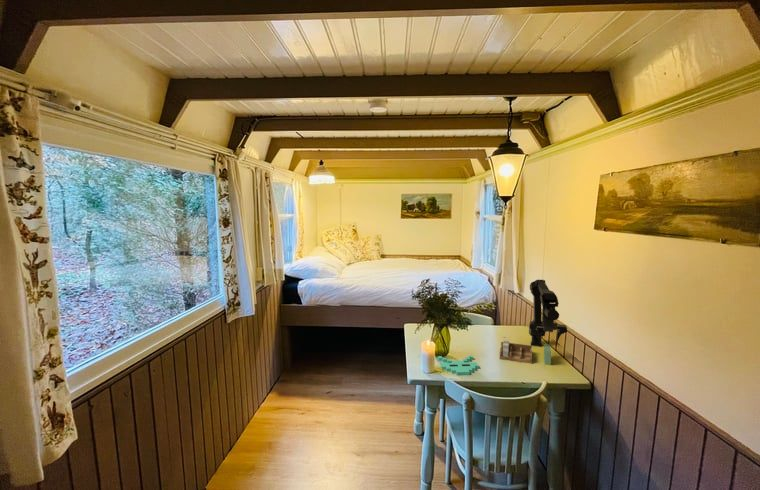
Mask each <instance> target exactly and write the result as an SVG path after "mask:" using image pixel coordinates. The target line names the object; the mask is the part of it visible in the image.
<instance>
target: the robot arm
mask: <svg viewBox="0 0 760 490" xmlns="http://www.w3.org/2000/svg"><path fill="white" fill-rule="evenodd" d="M529 290H530V294H531V295H532V297H533V299H532V300H533V319H532V321H529V329H528V334H529V336H531V341H530V345H531V346H532V347H533V346H536V347H543V342H542V340H543V338H542V337H545V336H546V332H549V333H554V331H556V338H555V342H556V344H558V342H559V340H560V337H561V336H562V335H564V334H567V333H568V327H567V324H560V323H558V322H554V321H557V320H558V319H559V318H560V313H559V312H558V311H557V309H556V308H558V307H559V299H558V296H557V294H556V293H555V292H554V291H552V290H550V288H549V287H548V285H547V283H546V280H544V279H535V281H532V282H530V284H529Z"/></svg>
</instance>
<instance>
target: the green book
mask: <svg viewBox="0 0 760 490" xmlns="http://www.w3.org/2000/svg"><path fill="white" fill-rule="evenodd" d="M551 359H552V350H551V344H549V343H548V344H547V343H544V344H543V361H544V365H546V366H552V364H551V363H552V360H551Z"/></svg>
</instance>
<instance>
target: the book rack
mask: <svg viewBox="0 0 760 490" xmlns="http://www.w3.org/2000/svg"><path fill="white" fill-rule="evenodd" d="M532 348H533V345H531V344H529V345H528V344H524V343H523V344H521V343H513V342H510V339H508V338H504V339H503V341H501V342H500V348H499V360H504V361H509V362H518V363H524V364H531V365H532V364H533V352H532V351H533V349H532Z"/></svg>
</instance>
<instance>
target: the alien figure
mask: <svg viewBox="0 0 760 490" xmlns="http://www.w3.org/2000/svg"><path fill="white" fill-rule="evenodd" d="M437 360H438V362H439V361H440V368H441V370H442V371H446V372H447V373H449V372H450V373H451V375H453V374H455V375H456V376H470V374H473V373H474V372H476V370H479V367H480V366H479V364H478V363H477V361H473V360H474V356H473V355H472V354H471V355H467V356H466V357H465V358H463V359H462V360H452V359H451V358H450V359H449V358H448V359H447V357H443V356H442V355H437ZM472 361H473V362H472Z"/></svg>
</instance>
